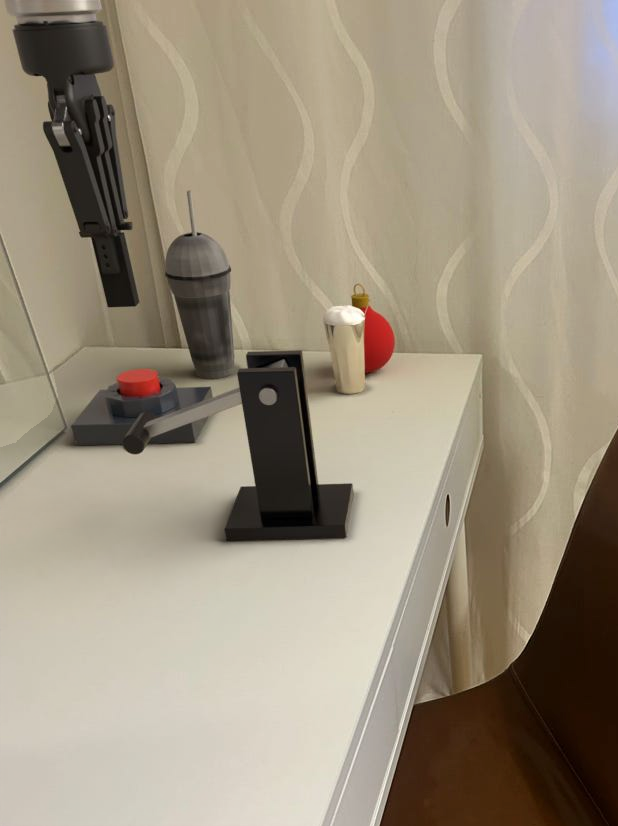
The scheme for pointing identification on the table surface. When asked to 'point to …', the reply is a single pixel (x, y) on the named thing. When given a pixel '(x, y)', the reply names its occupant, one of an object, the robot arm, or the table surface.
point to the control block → (137, 414)
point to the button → (138, 382)
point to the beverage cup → (202, 299)
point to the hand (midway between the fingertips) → (123, 304)
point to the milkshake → (346, 346)
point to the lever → (180, 417)
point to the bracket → (283, 459)
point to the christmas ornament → (374, 334)
